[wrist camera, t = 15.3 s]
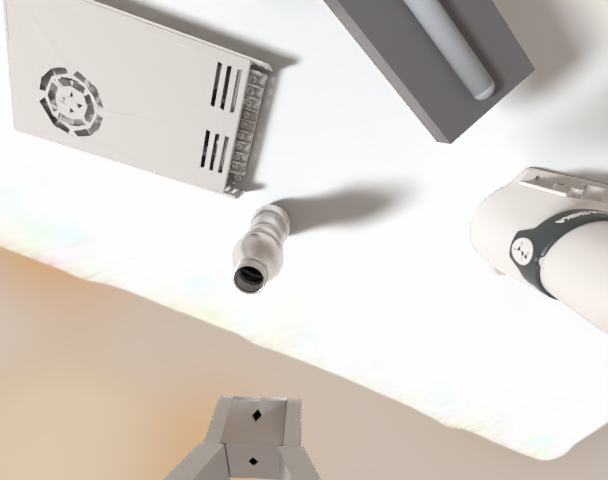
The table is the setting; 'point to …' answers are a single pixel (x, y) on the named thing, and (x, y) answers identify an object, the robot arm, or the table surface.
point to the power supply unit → (131, 90)
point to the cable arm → (439, 56)
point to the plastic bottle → (261, 249)
